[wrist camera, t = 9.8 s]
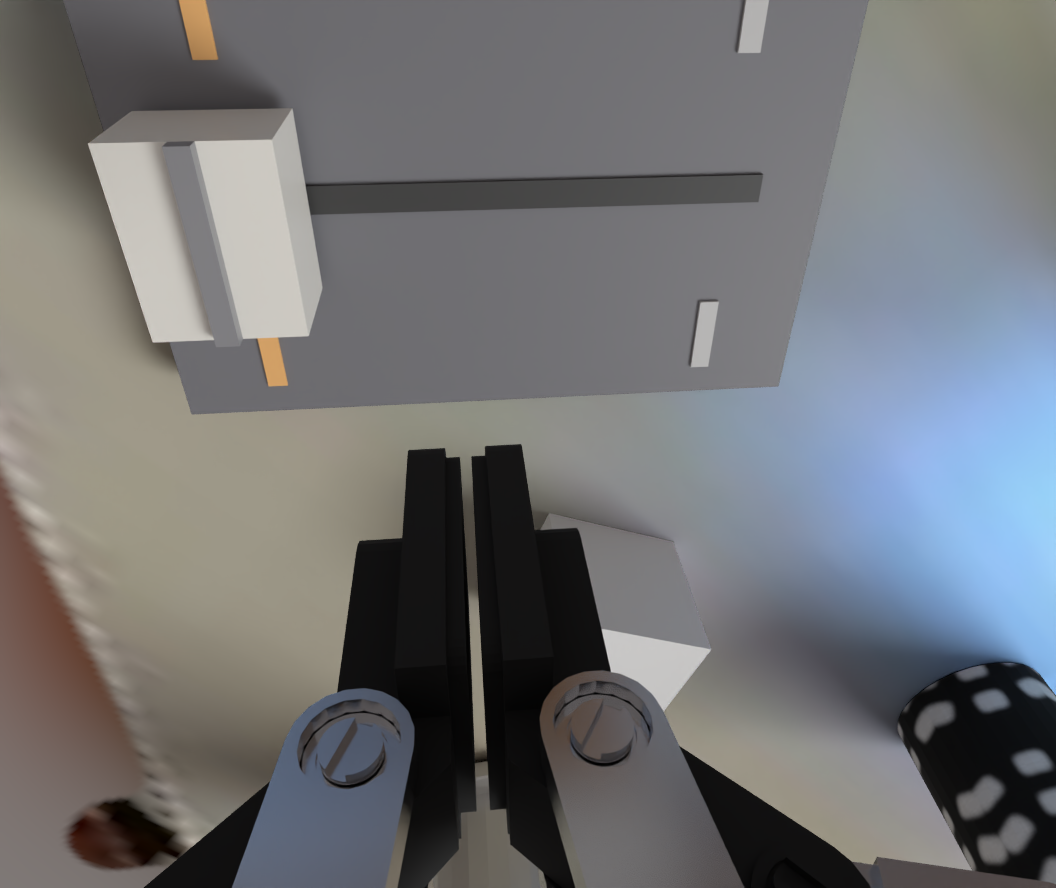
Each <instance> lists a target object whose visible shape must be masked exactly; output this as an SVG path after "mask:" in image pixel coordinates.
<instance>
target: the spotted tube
mask: <svg viewBox="0 0 1056 888" xmlns="http://www.w3.org/2000/svg"><path fill="white" fill-rule="evenodd" d="M898 732H899V735H900V737H901V739H902V741H903V743H904V745H905V747H906V748H907V750H908V752H909V754H910V756H911V758H912V759H913V761H914V763H915V765H916V767H917V769H918V771H919V772H920V774H921V776H922V778H923V780H924V782H925V784H926V785H927V787H928V789H929V791H930V793H931V795H932V797H933V798H934V800H935V802H936V804H937V806H938V808H939V810H940V811H941V813H942V815H943V817H944V819H945V821H946V823H947V824H948V826H949V828H950V830H951V832H952V834H953V835H954V837H955V839H956V841H957V843H958V845H959V847H960V848H961V850H962V852H963V854H964V856H965V858H966V860H967V861H968V863H969V865H970V867H971V869H972V871H977V872H984V873H991V874H997V875H1004V876H1011V877H1018V878H1025V879H1032V880H1038V881H1045V882H1050V883H1054V884H1056V695H1055V694H1054V693H1053V691H1052V690H1051V689H1050V687H1049V686H1048V685H1047V683H1046V682H1045V681H1044V680H1043V678H1042V677H1041V676H1040V674H1039V673H1037V672H1036V671H1035V670H1034V669H1032V668H1030V667H1027V666H1025V665H1021V664H1015V663H993V664H985V665H980V666H976V667H972V668H968V669H965V670H962V671H959V672H956V673H954V674H951V675H949V676H947V677H945V678H943V679H940V680H939V681H937V682H935V683H934V684H932V685H930V686H928V687H927V688H926V689H924V690H923V691H922V692H920V693H919V694H918V695H916V696H915V697H914V698H913V699H912V700H911V701H910V702H909V703H908V704H907V706H906V707H905V709H904V710H903V711H902V713H901V715H900V718H899V720H898Z"/></svg>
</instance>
